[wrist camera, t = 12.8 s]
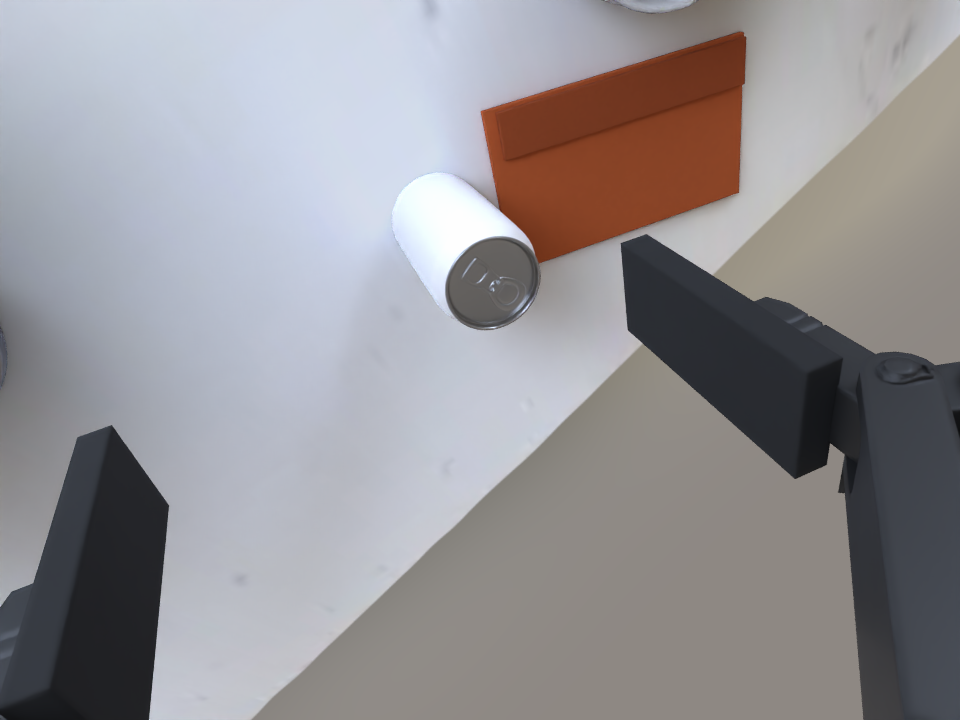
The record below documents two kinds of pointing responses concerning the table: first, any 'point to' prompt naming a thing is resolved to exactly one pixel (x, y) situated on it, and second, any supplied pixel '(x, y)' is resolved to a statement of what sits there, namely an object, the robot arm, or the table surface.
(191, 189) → the table surface
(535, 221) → the orange envelope wallet
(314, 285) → the table surface
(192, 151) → the table surface
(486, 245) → the can
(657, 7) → the teacup
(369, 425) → the table surface
